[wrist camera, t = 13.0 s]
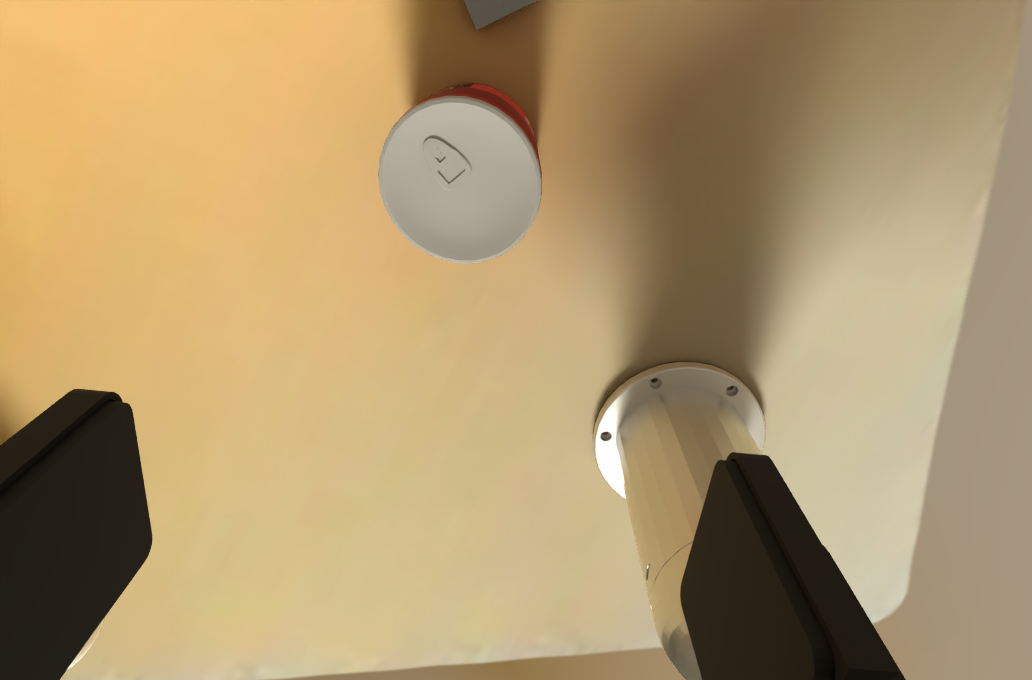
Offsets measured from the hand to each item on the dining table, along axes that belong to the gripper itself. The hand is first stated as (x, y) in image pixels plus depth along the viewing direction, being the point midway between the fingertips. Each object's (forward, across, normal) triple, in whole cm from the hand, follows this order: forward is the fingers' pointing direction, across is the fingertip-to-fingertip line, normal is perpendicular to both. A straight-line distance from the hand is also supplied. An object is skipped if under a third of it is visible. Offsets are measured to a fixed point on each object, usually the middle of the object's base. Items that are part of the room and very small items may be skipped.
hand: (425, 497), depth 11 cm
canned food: (+34, +1, 0) cm, 34 cm away
